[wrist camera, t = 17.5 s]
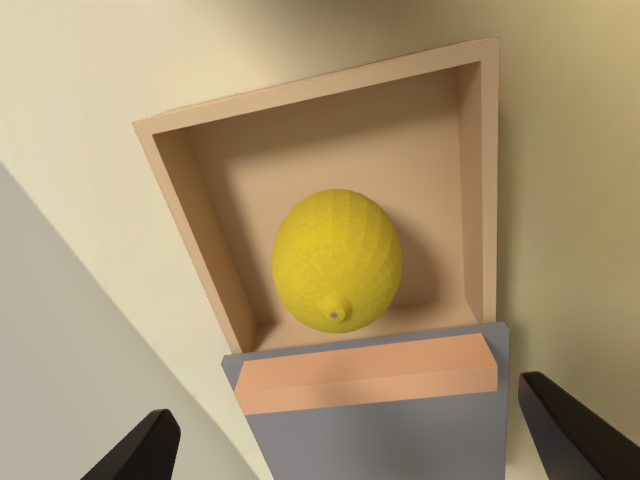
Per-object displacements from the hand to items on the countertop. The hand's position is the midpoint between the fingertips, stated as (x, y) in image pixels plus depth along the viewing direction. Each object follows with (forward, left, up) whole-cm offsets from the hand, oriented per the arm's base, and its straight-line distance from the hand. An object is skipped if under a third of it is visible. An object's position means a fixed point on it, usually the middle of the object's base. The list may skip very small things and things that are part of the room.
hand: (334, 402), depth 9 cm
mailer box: (0, 0, -12) cm, 12 cm away
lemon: (0, 0, -12) cm, 12 cm away
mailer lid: (+13, 0, -8) cm, 15 cm away
